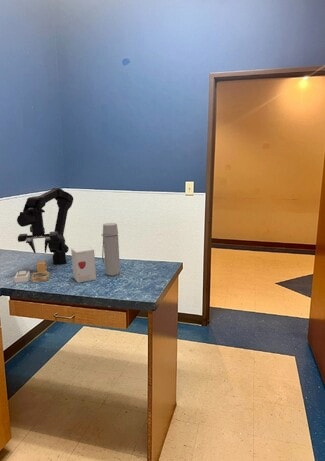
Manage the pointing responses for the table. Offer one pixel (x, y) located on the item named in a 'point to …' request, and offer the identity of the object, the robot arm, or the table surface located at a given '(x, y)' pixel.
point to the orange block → (41, 266)
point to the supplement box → (83, 263)
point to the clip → (22, 277)
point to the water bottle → (111, 249)
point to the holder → (40, 277)
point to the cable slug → (22, 273)
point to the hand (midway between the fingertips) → (40, 253)
